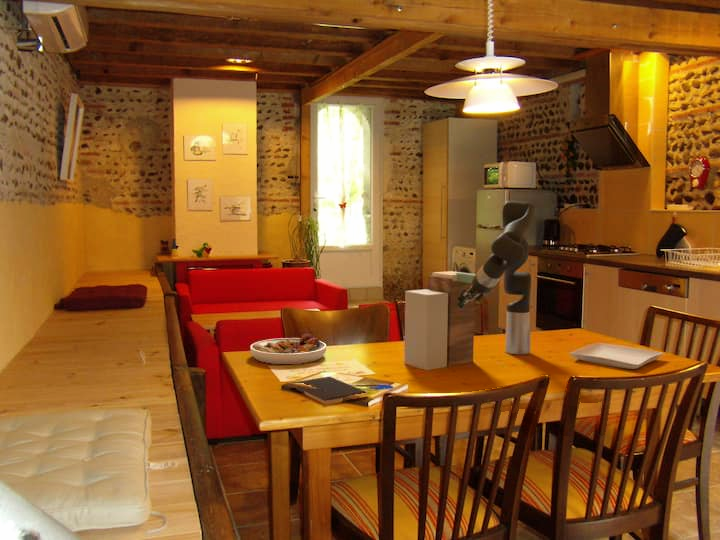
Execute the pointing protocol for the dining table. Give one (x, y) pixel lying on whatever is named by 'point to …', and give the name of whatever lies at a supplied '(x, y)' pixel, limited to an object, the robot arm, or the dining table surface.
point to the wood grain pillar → (457, 320)
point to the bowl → (288, 350)
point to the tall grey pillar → (426, 329)
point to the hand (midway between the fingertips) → (468, 302)
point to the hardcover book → (329, 390)
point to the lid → (455, 276)
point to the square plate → (616, 355)
